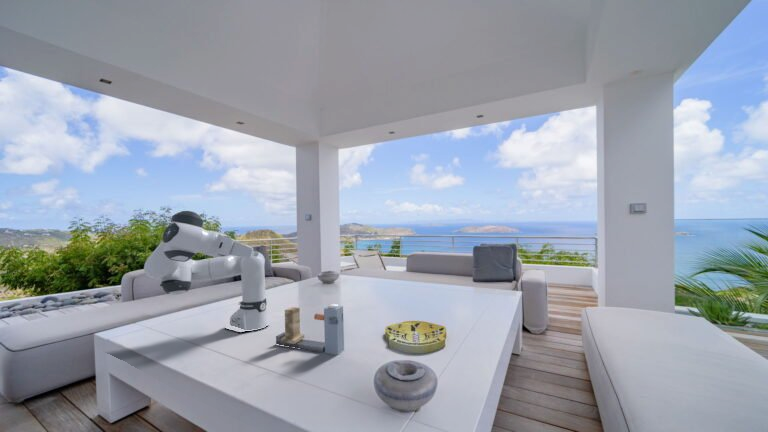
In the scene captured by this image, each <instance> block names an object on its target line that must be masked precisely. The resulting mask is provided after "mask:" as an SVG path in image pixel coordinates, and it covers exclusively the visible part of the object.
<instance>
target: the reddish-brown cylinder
mask: <svg viewBox="0 0 768 432" xmlns="http://www.w3.org/2000/svg"><path fill="white" fill-rule="evenodd" d="M313 317H314V320H317V321H324V313H315V314H314V316H313Z"/></svg>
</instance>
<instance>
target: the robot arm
mask: <svg viewBox="0 0 768 432" xmlns="http://www.w3.org/2000/svg"><path fill="white" fill-rule="evenodd" d="M170 221H171V223H170V224H169V225H168V226H167V227H166V228H165V229H164V231H163V233H162V240H161V242H159V244H158V246H156V248H155V249H154V251H153V252H152V253H151V254H150V255H149V256H148V257H147V259H146V260H145V263H144V266H143V273H144V275H146V277H148V278H149V279H152V280H161V283H160V284H159V286H160V287H161V288H162V290H163V291H164V292H165V293H166V294H168V295H173V296H174V295H175V296H176V295H181V294H184V293H186V292H188V291H189V290H190V289H191V286H192V282H208V281H215V280H221V279H227V278H233V277H236V276H240V277H241V288H242V289H241V292H242V293H241V296H242V300H241V301H239V302H238V304H237V305H240V306H239V309H237V310H236V311H235V312H234V313H233V314H232V315H231V316H230V317H229V324H230V325H231V326H235V327H238V328H241V329H244V330H252V329H258V328H262V327H265V326H267V325H268V324H269V325H270V323H269V322H270V321H269V322H268V320H269V318H268V311H267V298H266V276H265V274H266V273H265V264H266V258H265V256H264V255H263V253H261V252H259V251H256V250H254V247H252V246H249V245H247V244H245V243H242V242H240V241H237V240H235V238H232V237H229V236H228V235H227V234H225V233H221V232H218V231H214V230H208V229H207V230H206V229H204V228H203V225H204V220H203V219H202V217H201V216H200V215H199V213H196V212H195V211H190V210H182V211H179V212H177V213H175V214H173V215H172V217H171V220H170ZM197 253H200V254H202V255H204V256H211V257H209V258H204V259H198V260H195V259H193V258H195V256H197Z"/></svg>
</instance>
